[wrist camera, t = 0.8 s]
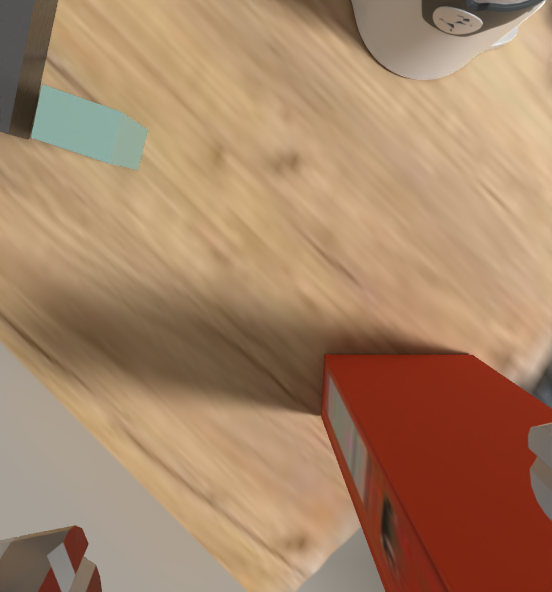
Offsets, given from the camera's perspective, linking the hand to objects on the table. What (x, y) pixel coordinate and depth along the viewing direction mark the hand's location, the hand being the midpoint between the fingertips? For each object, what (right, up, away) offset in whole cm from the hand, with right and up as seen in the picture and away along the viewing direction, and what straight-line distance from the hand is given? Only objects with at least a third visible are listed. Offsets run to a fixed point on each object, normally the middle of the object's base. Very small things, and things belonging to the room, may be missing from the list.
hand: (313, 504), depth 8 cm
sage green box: (-17, +19, +36) cm, 44 cm away
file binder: (+13, -7, +44) cm, 47 cm away
